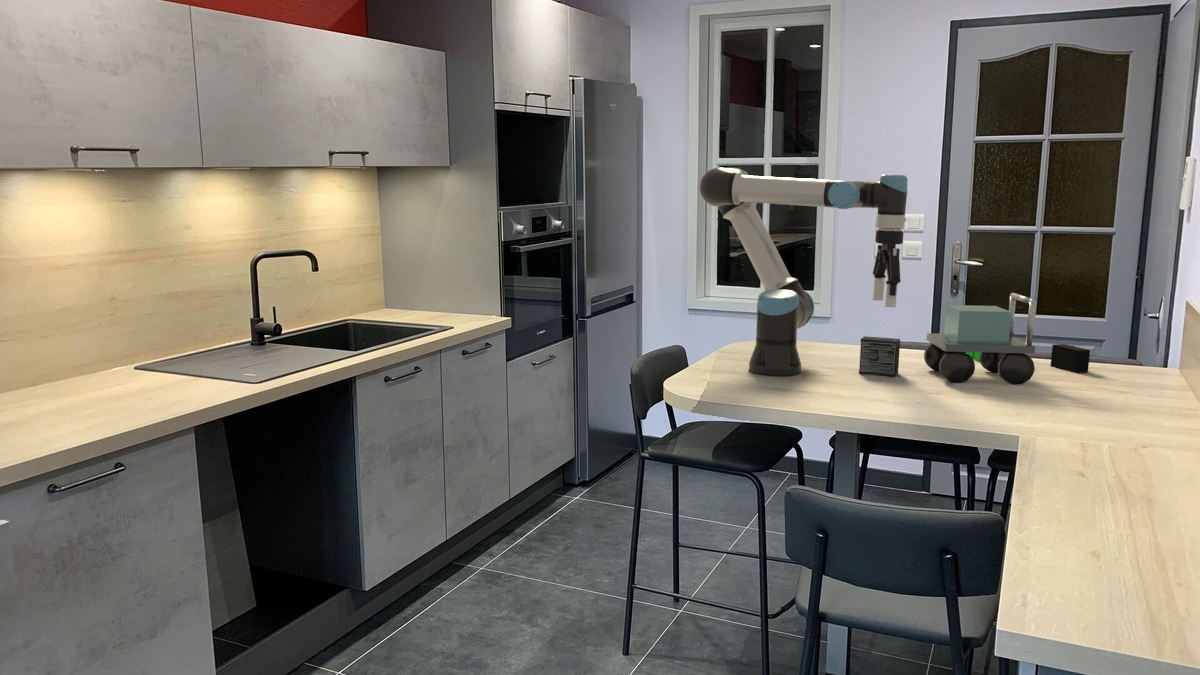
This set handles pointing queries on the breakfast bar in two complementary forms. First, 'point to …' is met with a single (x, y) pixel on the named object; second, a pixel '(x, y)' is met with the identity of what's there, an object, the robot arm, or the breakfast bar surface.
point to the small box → (879, 356)
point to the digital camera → (1070, 358)
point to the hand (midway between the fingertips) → (883, 303)
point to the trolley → (982, 343)
